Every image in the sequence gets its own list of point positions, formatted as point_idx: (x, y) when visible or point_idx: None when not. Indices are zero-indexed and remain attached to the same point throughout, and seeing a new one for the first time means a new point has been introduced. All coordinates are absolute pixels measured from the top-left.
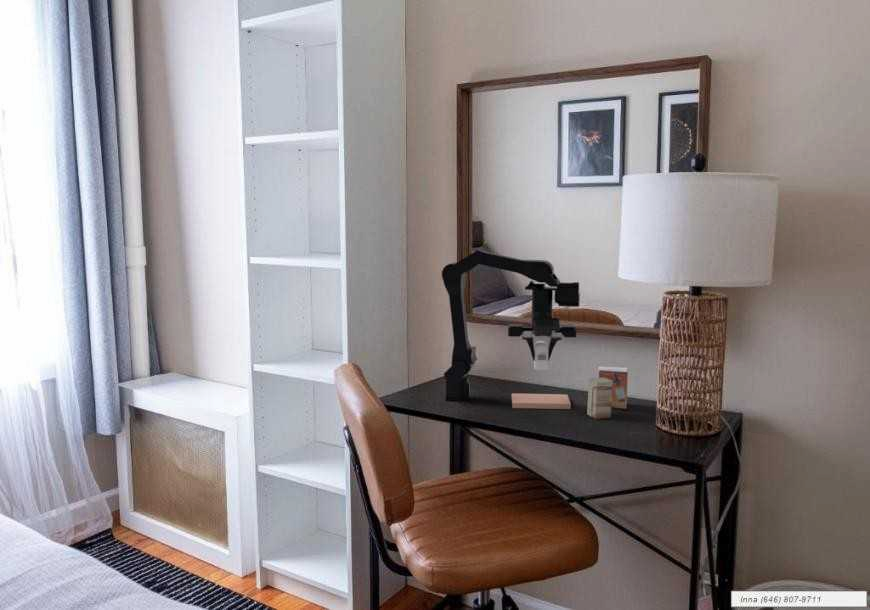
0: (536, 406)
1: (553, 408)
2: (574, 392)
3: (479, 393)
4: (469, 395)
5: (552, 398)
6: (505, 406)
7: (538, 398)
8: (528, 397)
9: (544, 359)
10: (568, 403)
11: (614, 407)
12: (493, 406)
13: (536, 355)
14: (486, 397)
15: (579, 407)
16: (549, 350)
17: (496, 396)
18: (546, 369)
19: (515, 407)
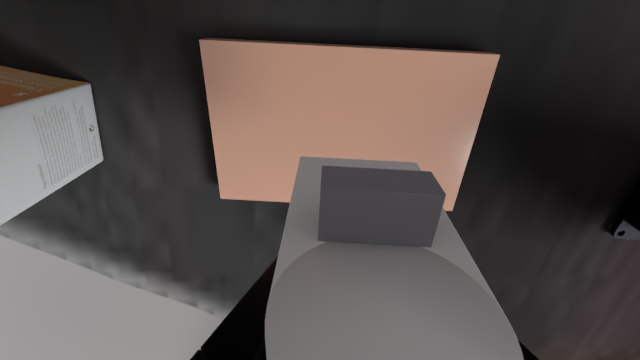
0: (372, 47)
1: (290, 42)
2: (202, 268)
3: (546, 258)
4: (633, 202)
5: (285, 138)
6: (510, 81)
7: (350, 136)
8: (393, 152)
9: (341, 172)
10: (210, 48)
11: (14, 70)
12: (569, 79)
13: (450, 252)
14: (541, 212)
15: (170, 72)
16: (249, 345)
17: (495, 225)
18: (313, 158)
19: (473, 51)
